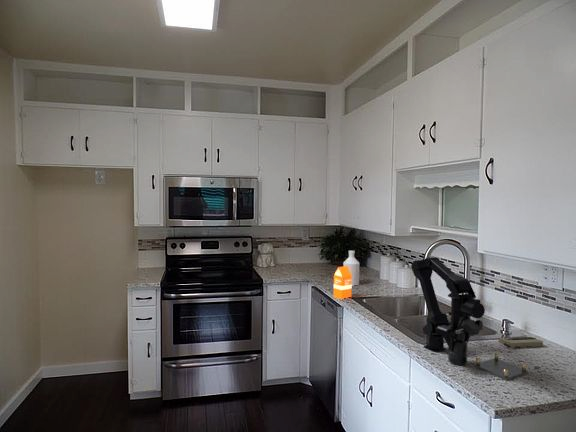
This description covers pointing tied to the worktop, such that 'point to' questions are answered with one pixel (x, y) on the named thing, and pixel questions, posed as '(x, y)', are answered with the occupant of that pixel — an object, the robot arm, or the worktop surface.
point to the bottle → (353, 267)
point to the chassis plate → (501, 368)
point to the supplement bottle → (458, 350)
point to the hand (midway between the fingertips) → (457, 349)
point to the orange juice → (342, 283)
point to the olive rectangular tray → (521, 342)
